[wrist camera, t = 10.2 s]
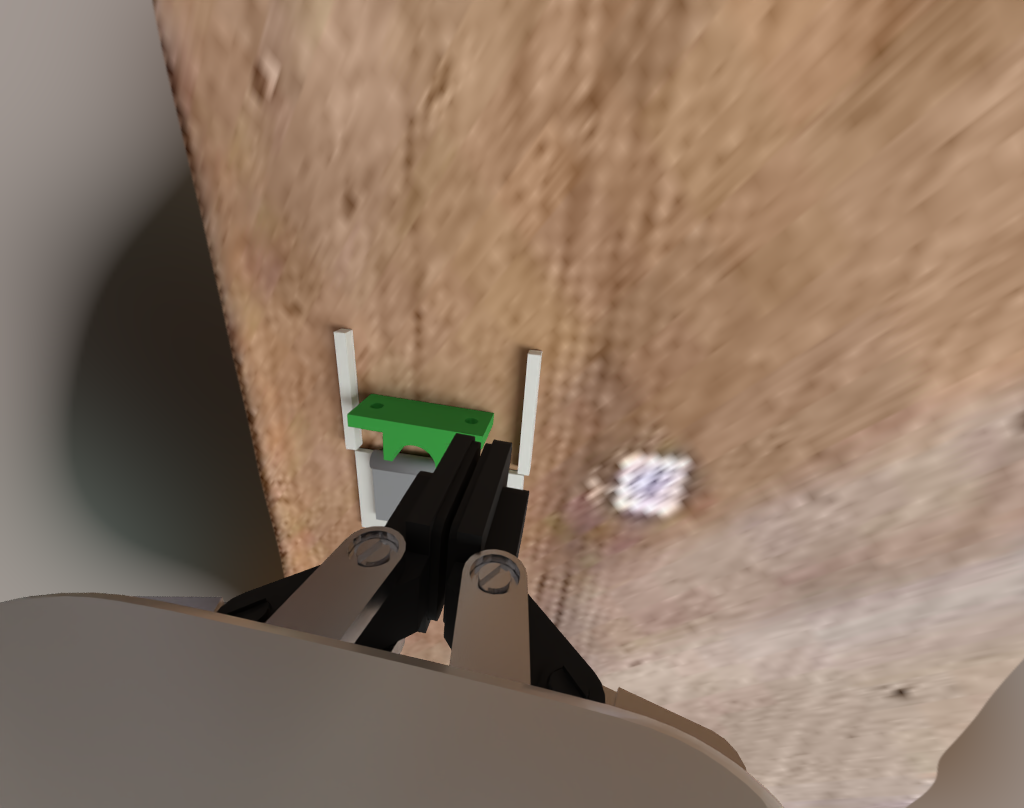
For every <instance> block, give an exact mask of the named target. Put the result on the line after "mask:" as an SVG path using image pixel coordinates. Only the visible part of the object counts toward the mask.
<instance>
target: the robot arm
mask: <svg viewBox="0 0 1024 808" xmlns="http://www.w3.org/2000/svg"><path fill="white" fill-rule="evenodd" d="M480 451H481V442H477V441H475V436H471V435H465V434H460V433H456V434H455V436H454V437H453V439H452V441H451V443H450V444H449V446H448V448H447V450H446V451H445V453H444V455H443V457H442V458H441V460H440V462H439V464H438V465H437V467H436V469H435V471H434V472H433V473H431V472H426V471H420V472H419V473H418V474H417V476H416V477H415V479H414V480H413V482H412V483H411V485H410V487H409V488H408V490H407V491H406V493H405V495H404V496H403V498H402V499H401V501H400V503H399V504H398V506H397V507H396V509H395V511H394V512H393V514H392V515H391V517H390V518H389V520H388V522H387V523H386V525H385V526H372V527H367V528H363V529H361V530H359V531H356V532H354V533H353V534H351V535H350V536H349V537H348V538H346V539H345V540H344V541H343V543H342V544H341V545H340V546H339V547H338V548H337V549H336V550H335V551H334V552H333V553H332V554H331V555H330V556H329V557H328V558H327V559H326V560H325V561H324V562H323V563H322V564H321V565H319V566H316V567H314V568H311V569H308V570H305V571H303V572H300V573H297V574H294V575H292V576H289V577H286V578H283V579H281V580H278V581H275V582H273V583H270V584H267V585H264V586H262V587H259V588H256V589H253V590H251V591H248V592H245V593H243V594H241V595H239V596H237V597H235V598H233V599H231V600H230V601H228V602H223V598H222V597H158V596H157V597H154V596H153V597H152V596H126V595H117V594H106V593H57V594H47V595H39V596H29V597H24V598H18V599H13V600H9V601H5V602H1V603H0V808H784V807H783V806H782V804H781V803H780V802H779V801H778V800H777V799H776V798H775V797H774V796H773V795H772V794H771V793H770V791H769V790H768V789H766V788H765V787H764V786H763V785H762V784H761V783H760V782H758V781H757V780H756V779H755V778H754V777H753V776H752V775H750V774H749V773H748V772H747V771H746V767H745V766H744V764H743V762H742V760H741V758H740V757H739V755H738V753H737V752H736V751H735V749H734V748H733V747H732V746H731V745H730V744H729V743H728V742H727V741H726V740H725V739H724V738H722V737H721V736H719V735H718V734H716V733H715V732H713V731H712V730H709V729H707V728H705V727H703V726H701V725H699V724H697V723H694V722H692V721H690V720H688V719H686V718H684V717H682V716H679V715H677V714H675V713H673V712H671V711H669V710H667V709H665V708H662V707H660V706H658V705H656V704H654V703H652V702H650V701H647V700H645V699H643V698H641V697H639V696H637V695H635V694H632V693H630V692H628V691H626V690H624V689H622V688H620V687H619V688H618V691H617V692H615V691H613V690H611V689H609V688H607V687H605V686H603V685H602V684H601V682H600V680H599V678H598V677H597V675H596V674H595V672H594V671H593V670H592V669H591V667H590V666H589V665H588V664H587V663H586V662H585V660H584V659H583V658H582V657H581V656H580V655H579V653H578V652H577V651H576V650H575V649H574V647H573V646H572V645H571V644H570V643H569V642H568V640H567V639H566V638H565V637H564V636H563V634H562V633H561V632H560V631H559V630H558V629H557V627H556V626H555V625H554V624H553V623H552V622H551V620H550V619H549V618H548V617H547V616H546V614H545V613H544V612H543V611H542V610H541V609H540V607H539V606H538V605H537V604H536V603H535V602H534V600H533V599H532V598H531V597H530V596H529V594H528V584H527V573H526V568H525V567H524V565H523V564H522V562H521V561H520V560H519V559H518V554H519V549H520V544H521V538H522V533H523V527H524V522H525V516H526V510H527V504H528V497H529V491H526V490H521V489H516V488H510V487H507V481H508V474H509V466H510V459H511V451H512V443H510V442H504V441H499V440H494V441H493V443H492V444H488V443H486V444H485V446H484V449H483V451H482V453H481V456H480ZM443 605H444V617H443V622H444V623H445V626H444V638H445V640H446V642H447V643H448V645H449V647H450V648H451V657H450V664H449V666H448V665H444V664H440V663H435V662H431V661H427V660H422V659H418V658H414V657H410V656H405V655H401V654H400V652H401V651H402V648H403V646H404V643H405V638H406V637H407V636H409V635H411V634H413V633H415V632H417V631H418V632H422V633H426V631H427V628H428V626H429V623H430V620H435V621H438V619H439V617H440V614H441V611H442V608H443Z"/></svg>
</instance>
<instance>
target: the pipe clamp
mask: <svg viewBox="0 0 1024 808" xmlns="http://www.w3.org/2000/svg"><path fill="white" fill-rule="evenodd" d="M493 418H494V413H490V412H484V411H478V410H471V409H465V408H459V407H452V406H446V405H440V404H434V403H427V402H421V401H415V400H408V399H402V398H396V397H389V396H383V395H377V394H370V395H369V396H368V397H367V398H366V399H365V400H363V401H362V402H361V403H360V404H359V405H357V406H356V407H355V408H354V409H353V410H351V411H350V412H349V413H348V414H347V421H348V427H354V428H360V429H366V430H372V431H378V432H383V454H384V460H388V461H393V460H394V458H395V457H396V456H397V455H398V453H399V452H400V451H401V450H402V448H403V447H404V446H406V445H413V446H418V447H420V448H422V449H424V450H425V451H427V452H428V453H429V454H430V455H431V457H432V458H433V460H434V462H435V467H437V465H438V464H439V462H440V460H441V458H442V457H443V455H444V453H445V451H446V450H447V448H448V446H449V444H450V443H451V441H452V439H453V437H454V436H455V434H456V433H460V434H465V435H471V436H475V441H477V442H481V449H482V448H483V446H484V443H485V441H486V439H487V437H488V434H489V432H490V430H491V428H492V425H493Z"/></svg>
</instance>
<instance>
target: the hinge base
mask: <svg viewBox="0 0 1024 808" xmlns="http://www.w3.org/2000/svg"><path fill="white" fill-rule="evenodd" d="M334 339H335V349H336V358H337V367H338V377H339V386H340V396H341V405H342V415H343V424H344V433H345V443H346V449H352V450H355V457H356V468H357V478H358V488H359V499H360V509H361V519H362V527H366V528H367V527H372V526H385V525H386V523H387V522H388V520H389V518H390V517H391V515H392V514H393V512H394V511H395V509H396V507H397V506H398V504H399V503H400V501H401V499H402V498H403V496H404V495H405V493H406V491H407V490H408V488H409V487H410V485H411V483H412V482H413V480H414V479H415V477H416V476H417V474H418V473H419V472H420V471H426V472H431V473H433V472H434V471H435V469H436V467H435V462H434V460H433V458H430V457H423V456H416V455H410V454H403V453H398V455H397V456H396V457H395V458H394V460H393V461H388V460H384V454H383V451H382V450H370V449H363V448H359V447H360V446H361V445H362V432H361V429H360V428H354V427H348V421H347V414H348V413H349V412H350V411H351V410H353V409H354V408H355V407H356V406H357V405H359V398H358V387H357V375H356V364H355V352H354V341H353V330H351V329H342V328H341V329H339V330H337V331H335V332H334ZM541 358H542V351H538V350H529V353H528V359H527V370H526V382H525V394H524V405H523V417H522V428H521V440H520V452H519V463H518V471H514V470H509V474H508V481H507V487H510V488H516V489H521V490H523V483H524V475H529V473H530V468H531V458H532V448H533V438H534V428H535V418H536V408H537V398H538V388H539V378H540V368H541Z"/></svg>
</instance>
